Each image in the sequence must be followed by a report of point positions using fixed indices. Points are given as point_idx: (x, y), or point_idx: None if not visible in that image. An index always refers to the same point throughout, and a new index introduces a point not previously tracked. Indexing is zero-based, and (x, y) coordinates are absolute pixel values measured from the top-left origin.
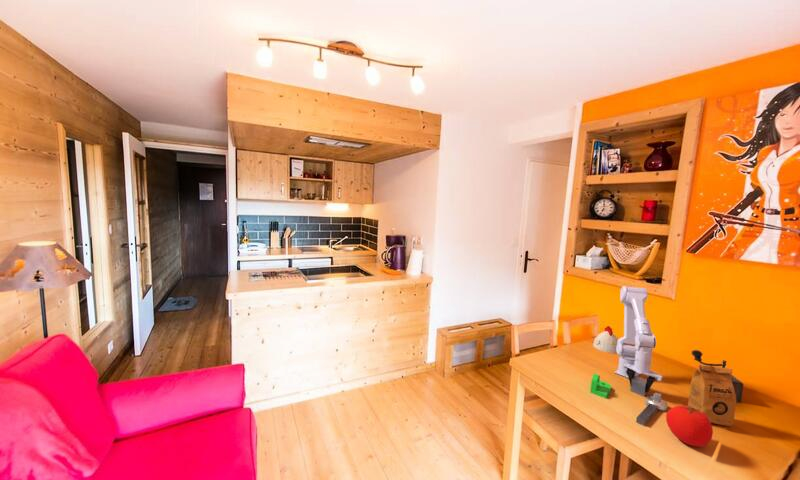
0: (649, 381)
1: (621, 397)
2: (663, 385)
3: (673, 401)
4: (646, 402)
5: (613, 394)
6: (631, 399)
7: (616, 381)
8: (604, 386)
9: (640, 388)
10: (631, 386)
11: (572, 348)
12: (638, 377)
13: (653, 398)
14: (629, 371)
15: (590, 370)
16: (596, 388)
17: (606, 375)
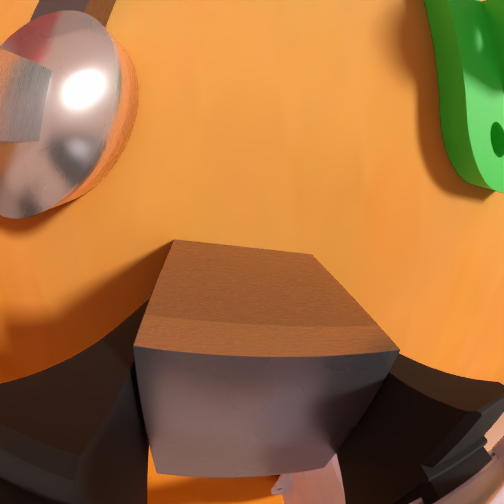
0: (35, 409)
1: (357, 37)
2: (153, 477)
3: (24, 349)
4: (124, 53)
5: (413, 58)
6: (275, 53)
7: (401, 344)
8: (488, 95)
9: (221, 280)
10: (331, 279)
11: None
12: (292, 461)
13: (31, 65)
14: (470, 441)
15: (488, 338)
16: (492, 11)
17: (437, 364)
